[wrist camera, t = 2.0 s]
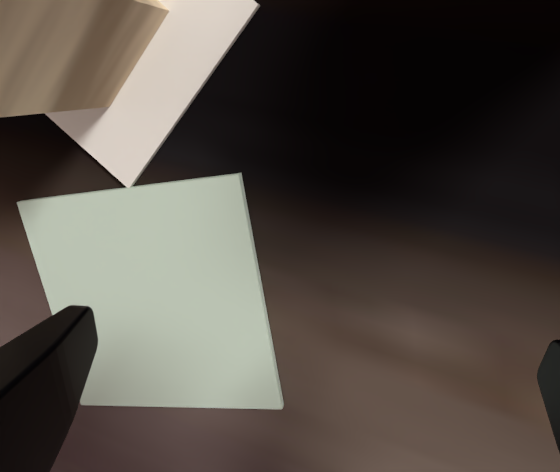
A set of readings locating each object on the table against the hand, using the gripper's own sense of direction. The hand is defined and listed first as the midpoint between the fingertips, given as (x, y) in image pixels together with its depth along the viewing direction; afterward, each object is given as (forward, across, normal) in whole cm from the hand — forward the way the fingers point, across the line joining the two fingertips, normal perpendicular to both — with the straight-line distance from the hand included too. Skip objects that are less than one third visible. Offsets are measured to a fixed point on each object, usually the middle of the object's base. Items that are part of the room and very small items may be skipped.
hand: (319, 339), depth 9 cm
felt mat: (+12, +7, +9) cm, 17 cm away
